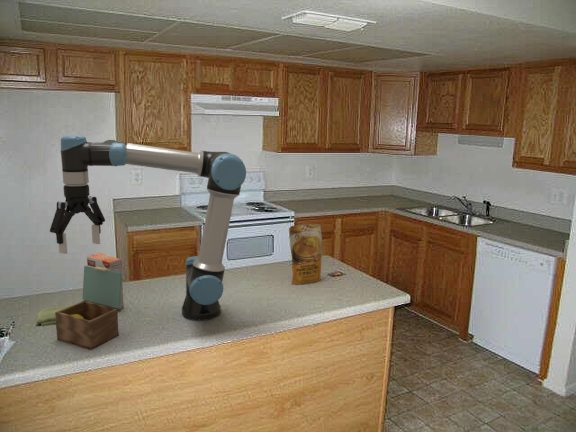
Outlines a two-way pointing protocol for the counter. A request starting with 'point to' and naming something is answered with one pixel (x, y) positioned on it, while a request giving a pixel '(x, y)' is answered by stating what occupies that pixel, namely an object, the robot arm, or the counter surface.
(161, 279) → the counter surface
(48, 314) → the washcloth
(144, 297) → the counter surface
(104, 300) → the lid
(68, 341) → the box
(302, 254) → the pancake mix bag
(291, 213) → the counter surface
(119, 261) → the cracker box
